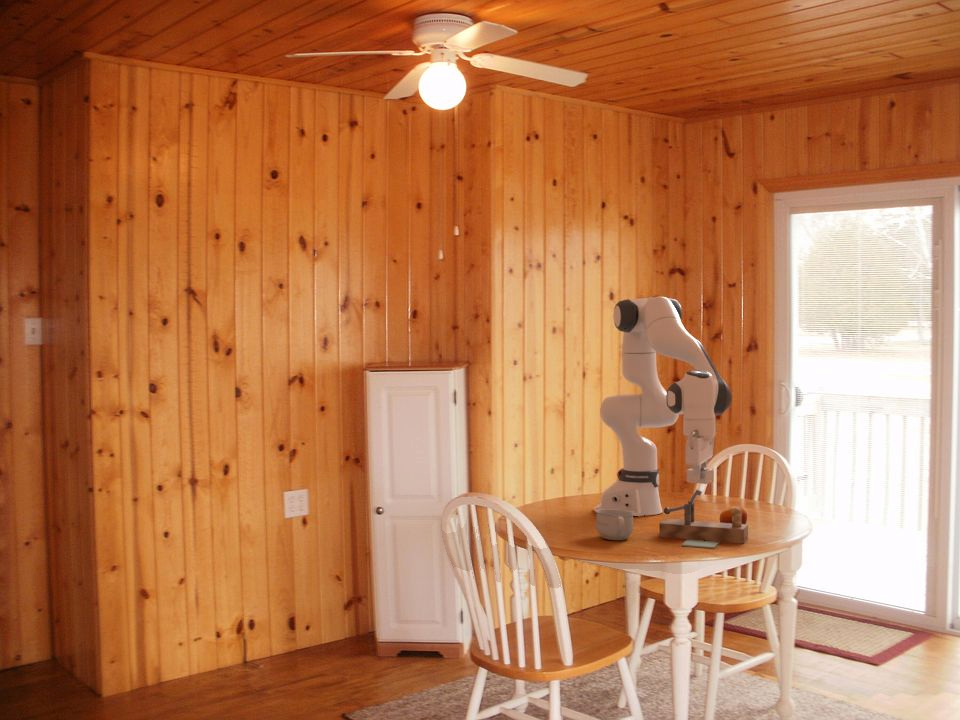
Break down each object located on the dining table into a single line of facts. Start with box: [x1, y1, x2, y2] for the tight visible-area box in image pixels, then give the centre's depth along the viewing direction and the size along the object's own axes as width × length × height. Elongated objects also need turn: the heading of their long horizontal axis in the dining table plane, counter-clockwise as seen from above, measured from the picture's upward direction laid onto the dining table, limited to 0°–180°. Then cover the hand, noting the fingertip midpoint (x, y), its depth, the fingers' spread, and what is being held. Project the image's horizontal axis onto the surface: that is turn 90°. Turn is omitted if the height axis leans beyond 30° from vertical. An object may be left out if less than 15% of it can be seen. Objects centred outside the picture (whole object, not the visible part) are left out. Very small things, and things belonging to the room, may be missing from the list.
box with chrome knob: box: [685, 467, 715, 485], centre depth 266 cm, size 6×4×4 cm
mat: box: [681, 539, 720, 549], centre depth 266 cm, size 9×7×1 cm
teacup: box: [595, 509, 634, 541], centre depth 275 cm, size 14×11×8 cm
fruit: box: [719, 505, 748, 525], centre depth 286 cm, size 8×8×8 cm
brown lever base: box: [658, 500, 749, 544], centre depth 275 cm, size 24×7×10 cm, turn 65°
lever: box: [663, 488, 704, 515], centre depth 277 cm, size 12×3×7 cm
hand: (699, 478), depth 266 cm, fingers closed on box with chrome knob, 5 cm apart
